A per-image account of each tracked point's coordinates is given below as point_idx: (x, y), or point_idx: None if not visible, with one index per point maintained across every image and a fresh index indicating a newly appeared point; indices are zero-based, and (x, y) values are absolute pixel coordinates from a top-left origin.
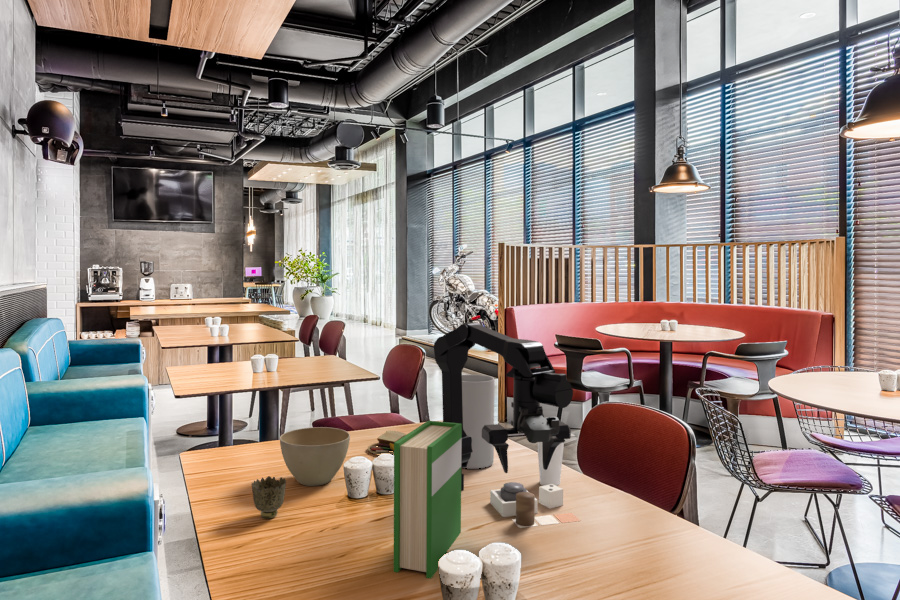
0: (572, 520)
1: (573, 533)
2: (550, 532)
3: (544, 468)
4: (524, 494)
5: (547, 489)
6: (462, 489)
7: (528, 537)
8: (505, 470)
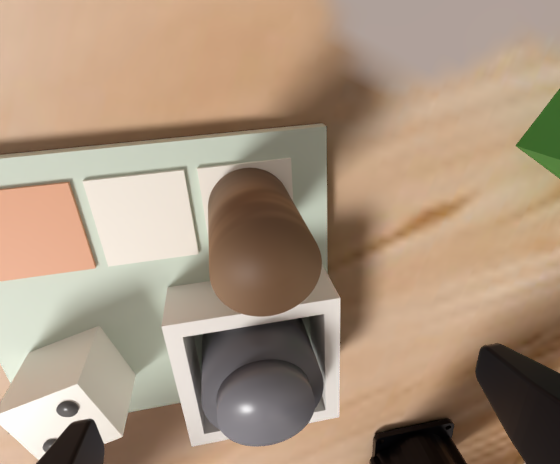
0: (5, 201)
1: (27, 103)
2: (146, 133)
3: (96, 438)
4: (268, 282)
5: (85, 411)
6: (375, 459)
7: (264, 98)
8: (524, 356)
